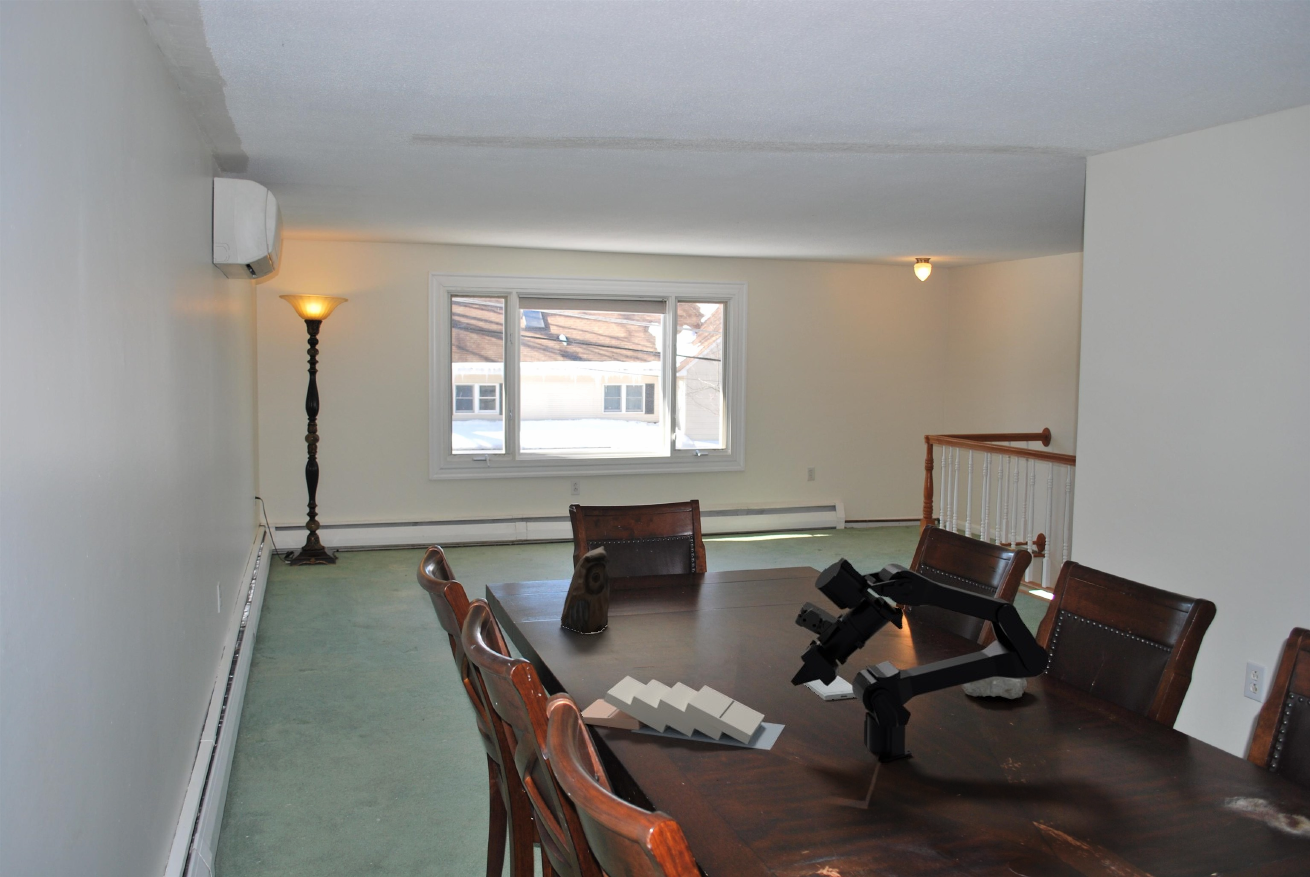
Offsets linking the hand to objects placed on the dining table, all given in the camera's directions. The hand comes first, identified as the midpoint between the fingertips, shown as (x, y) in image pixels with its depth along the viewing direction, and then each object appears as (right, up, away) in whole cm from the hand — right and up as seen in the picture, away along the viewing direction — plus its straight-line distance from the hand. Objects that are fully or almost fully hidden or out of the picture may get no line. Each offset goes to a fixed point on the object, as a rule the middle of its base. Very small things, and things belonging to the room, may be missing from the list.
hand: (792, 683), depth 163 cm
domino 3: (-15, -9, +6) cm, 19 cm away
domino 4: (-11, -9, +5) cm, 15 cm away
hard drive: (+12, -9, +30) cm, 33 cm away
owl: (-41, -6, +77) cm, 88 cm away
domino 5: (-6, -9, +3) cm, 11 cm away
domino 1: (-25, -8, +10) cm, 28 cm away
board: (-14, -10, +6) cm, 18 cm away
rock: (+44, -9, +26) cm, 52 cm away
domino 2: (-20, -8, +8) cm, 23 cm away
